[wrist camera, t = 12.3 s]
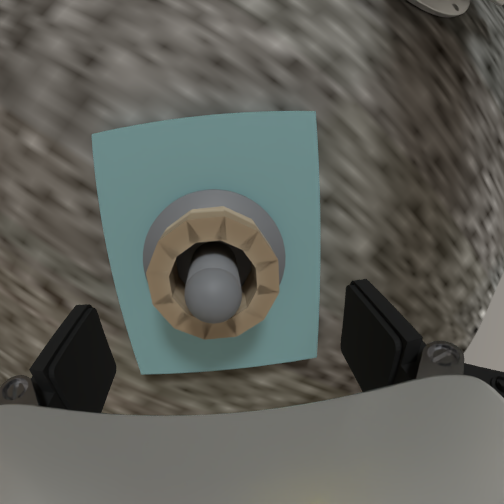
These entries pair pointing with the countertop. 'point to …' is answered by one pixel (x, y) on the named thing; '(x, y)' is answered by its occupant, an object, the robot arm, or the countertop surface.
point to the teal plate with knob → (218, 252)
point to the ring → (203, 230)
